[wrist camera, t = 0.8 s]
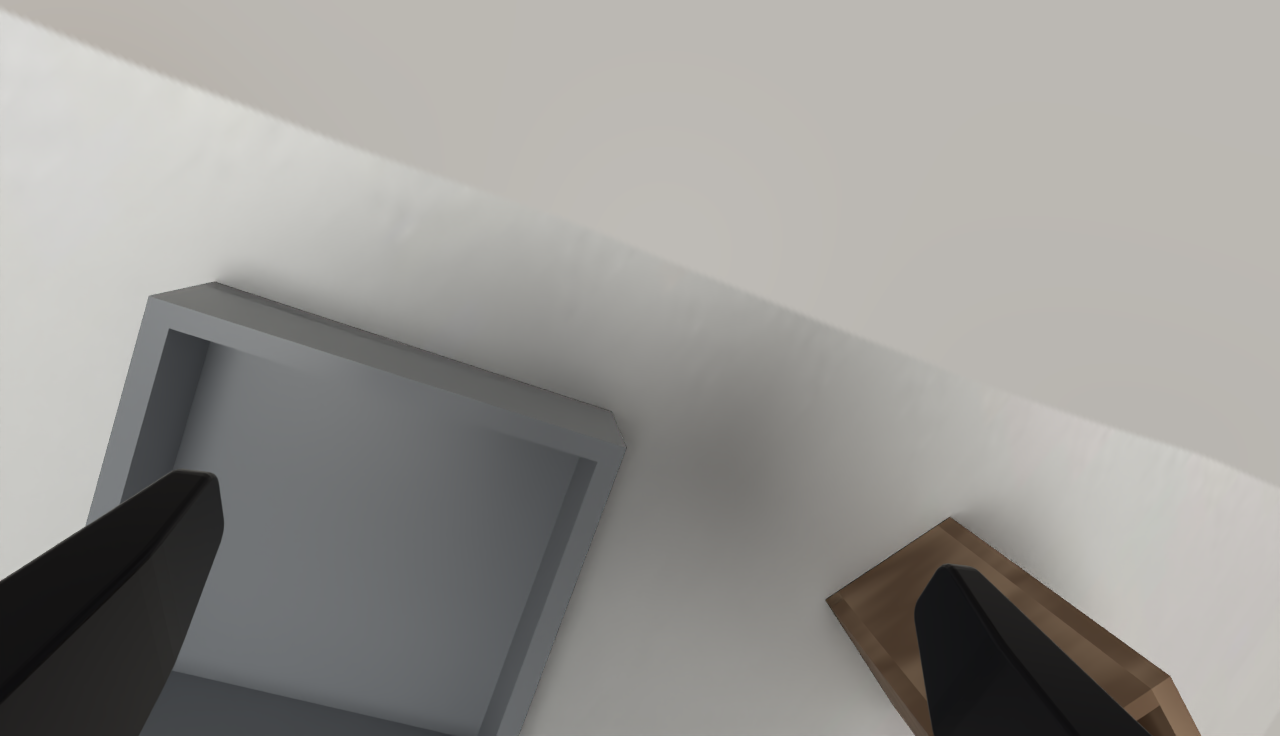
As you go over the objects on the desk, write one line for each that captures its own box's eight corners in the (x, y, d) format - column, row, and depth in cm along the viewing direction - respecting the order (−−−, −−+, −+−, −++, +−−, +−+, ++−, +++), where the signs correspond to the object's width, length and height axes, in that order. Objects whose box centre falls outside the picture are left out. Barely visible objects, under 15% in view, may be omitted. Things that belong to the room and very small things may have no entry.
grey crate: (489, 743, 30) (482, 832, 26) (107, 654, 27) (26, 738, 23) (611, 411, 28) (626, 448, 24) (213, 281, 26) (148, 295, 21)
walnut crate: (893, 706, 32) (1072, 948, 22) (825, 599, 31) (980, 803, 20) (1013, 626, 32) (1249, 829, 22) (950, 516, 31) (1170, 676, 20)
